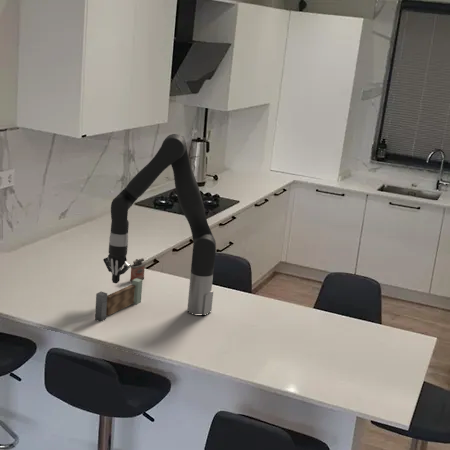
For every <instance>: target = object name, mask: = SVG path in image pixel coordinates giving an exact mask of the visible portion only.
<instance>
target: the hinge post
mask: <svg viewBox="0 0 450 450" xmlns="http://www.w3.org/2000/svg"><path fill="white" fill-rule="evenodd" d="M107 295H108V292H105V291H99V292H97V293H96V294H95V311H94V313H95V315H94V320H95V321H97V320H98V321H97V322H100V321H102V322H104V321H106V320H107V315H106V309H107ZM105 319H106V320H105ZM103 320H104V321H103Z"/></svg>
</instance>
